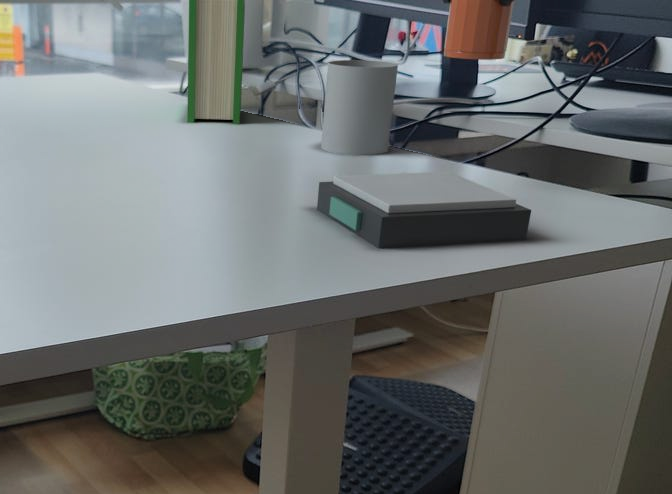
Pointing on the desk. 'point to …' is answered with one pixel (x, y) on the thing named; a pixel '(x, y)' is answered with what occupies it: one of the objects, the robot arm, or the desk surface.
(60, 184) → the desk surface
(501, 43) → the tumbler
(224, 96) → the hardback book
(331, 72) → the cup
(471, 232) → the scale
